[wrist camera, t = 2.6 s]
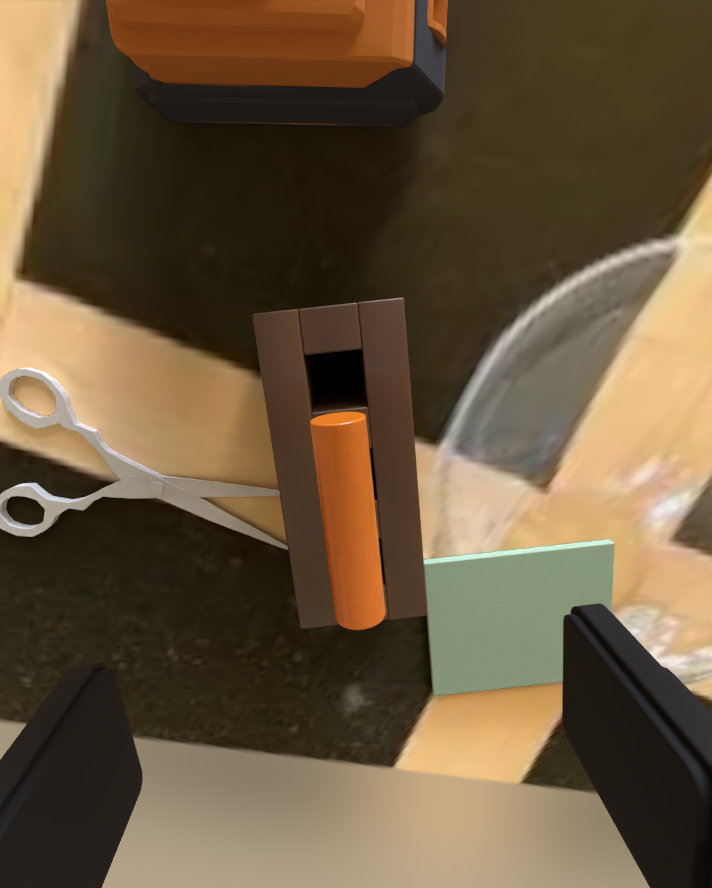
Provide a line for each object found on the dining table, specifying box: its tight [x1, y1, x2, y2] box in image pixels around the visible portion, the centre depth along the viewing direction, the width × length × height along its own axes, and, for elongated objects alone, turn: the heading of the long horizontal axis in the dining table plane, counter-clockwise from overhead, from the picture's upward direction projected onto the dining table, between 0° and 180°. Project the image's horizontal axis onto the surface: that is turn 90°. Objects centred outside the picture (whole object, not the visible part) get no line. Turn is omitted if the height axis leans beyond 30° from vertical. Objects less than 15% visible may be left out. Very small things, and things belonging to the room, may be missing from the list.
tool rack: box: [252, 298, 427, 629], centre depth 26 cm, size 7×16×6 cm, turn 6°
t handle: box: [310, 412, 386, 630], centre depth 23 cm, size 2×8×12 cm, turn 6°
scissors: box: [0, 368, 288, 550], centre depth 29 cm, size 11×1×20 cm
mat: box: [423, 539, 614, 696], centre depth 32 cm, size 12×10×1 cm
